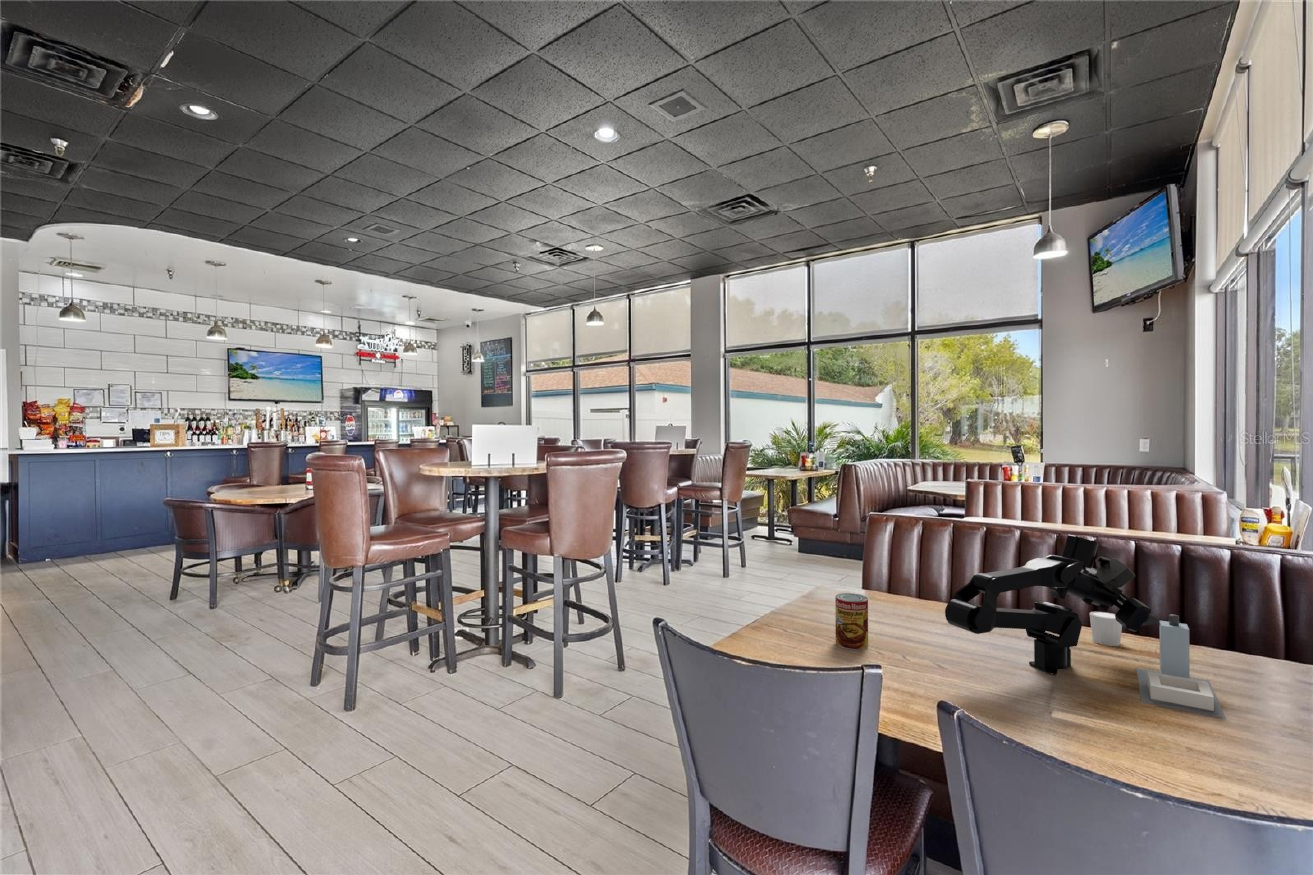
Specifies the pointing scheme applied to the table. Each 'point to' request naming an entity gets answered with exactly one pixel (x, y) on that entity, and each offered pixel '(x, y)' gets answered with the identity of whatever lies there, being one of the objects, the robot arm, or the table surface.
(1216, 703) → the board
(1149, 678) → the socket
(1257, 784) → the table surface
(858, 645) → the canned food
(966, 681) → the table surface
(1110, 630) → the white cup
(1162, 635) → the plug
